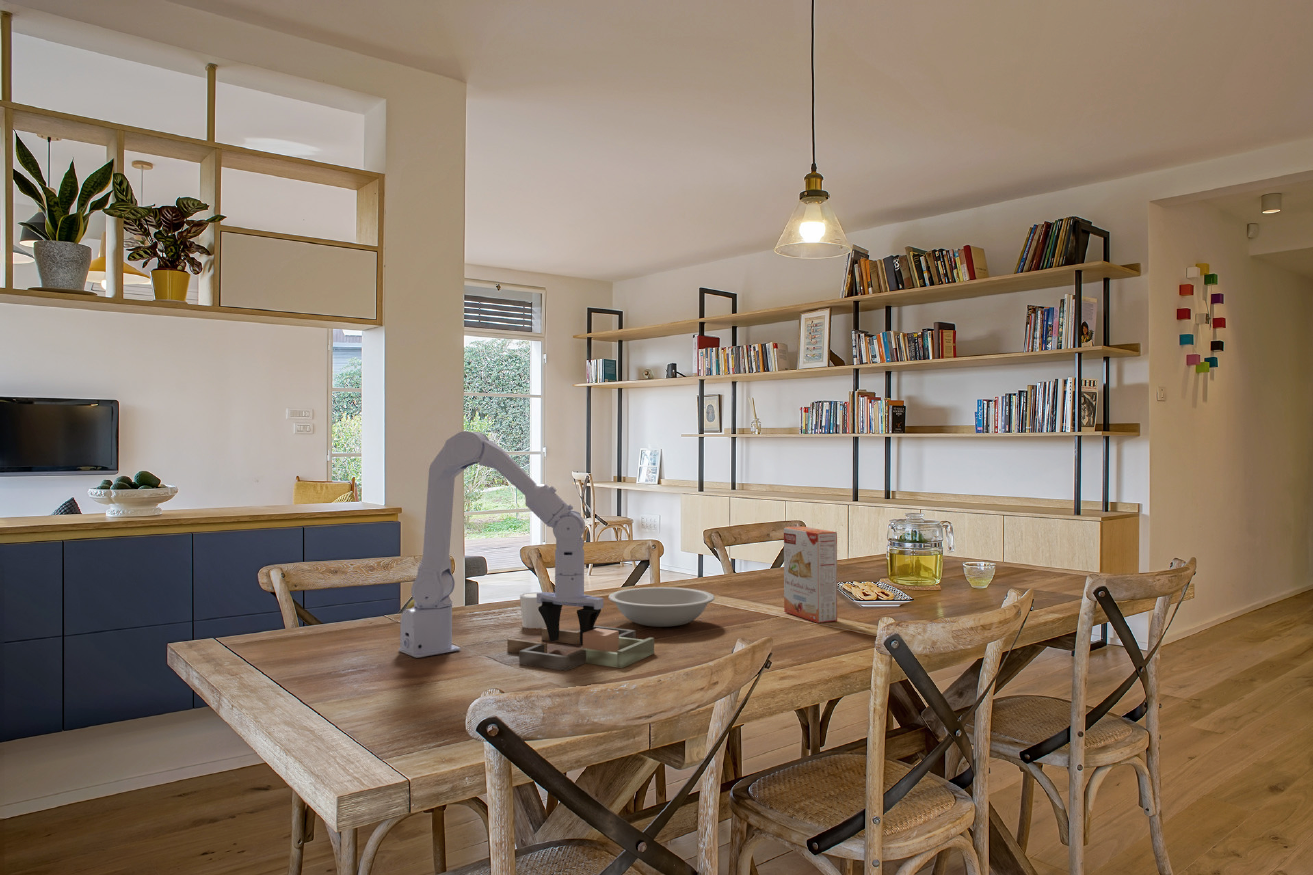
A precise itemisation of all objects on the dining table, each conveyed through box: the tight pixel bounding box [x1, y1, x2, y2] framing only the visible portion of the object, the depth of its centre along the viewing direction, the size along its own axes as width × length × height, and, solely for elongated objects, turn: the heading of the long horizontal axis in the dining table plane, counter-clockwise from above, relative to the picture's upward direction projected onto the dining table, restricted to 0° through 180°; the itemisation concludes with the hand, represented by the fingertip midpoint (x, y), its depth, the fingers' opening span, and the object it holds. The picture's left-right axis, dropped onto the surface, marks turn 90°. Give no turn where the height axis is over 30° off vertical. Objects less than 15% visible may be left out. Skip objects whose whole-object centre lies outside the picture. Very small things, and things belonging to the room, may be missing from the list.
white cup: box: [519, 592, 547, 629], centre depth 189 cm, size 7×7×7 cm
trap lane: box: [506, 625, 655, 672], centre depth 165 cm, size 26×25×3 cm
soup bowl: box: [608, 586, 715, 628], centre depth 191 cm, size 24×24×7 cm
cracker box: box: [783, 525, 838, 624], centre depth 200 cm, size 14×6×21 cm, turn 25°
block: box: [582, 628, 619, 653], centre depth 163 cm, size 5×5×4 cm
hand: (569, 642), depth 166 cm, fingers open, 7 cm apart
